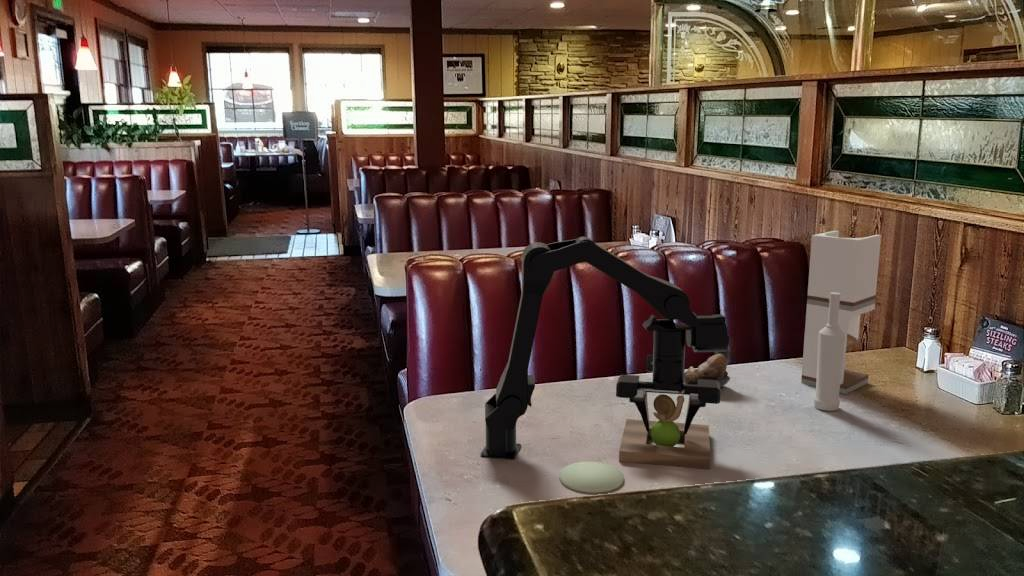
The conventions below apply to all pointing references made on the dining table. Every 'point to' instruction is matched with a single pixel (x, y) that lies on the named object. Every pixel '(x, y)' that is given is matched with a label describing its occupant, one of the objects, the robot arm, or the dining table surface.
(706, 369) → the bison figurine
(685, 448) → the frame
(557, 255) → the robot arm
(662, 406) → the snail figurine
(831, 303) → the bottle
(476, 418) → the dining table surface
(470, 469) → the dining table surface
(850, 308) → the white tall stand
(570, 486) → the felt coaster
